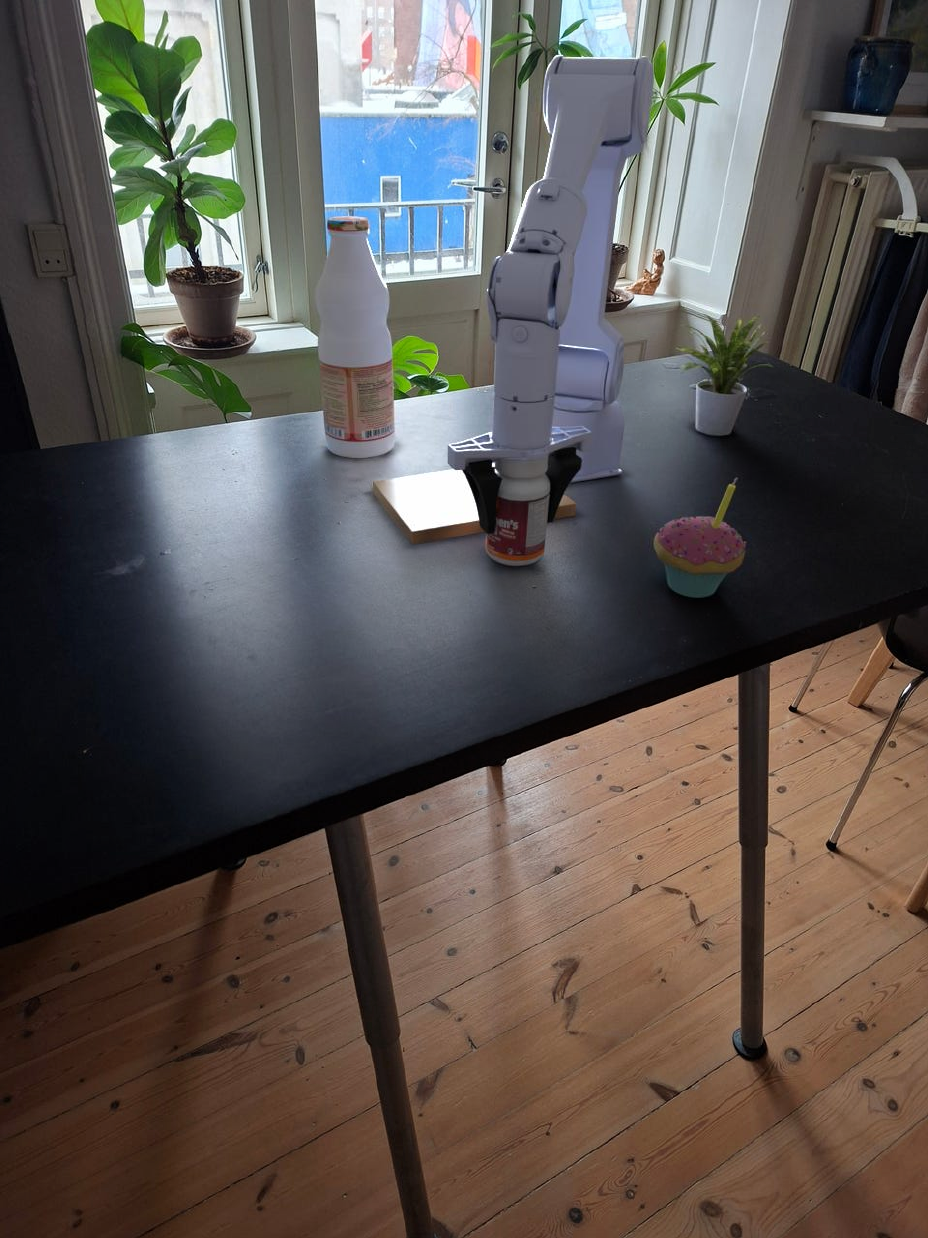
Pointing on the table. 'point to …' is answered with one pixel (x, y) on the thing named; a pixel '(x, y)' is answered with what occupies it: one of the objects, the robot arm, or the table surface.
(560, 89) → the robot arm
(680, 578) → the cupcake
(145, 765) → the table surface
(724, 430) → the house plant
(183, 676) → the table surface
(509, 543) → the pill bottle
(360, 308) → the fruit juice
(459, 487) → the oak board
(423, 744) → the table surface
